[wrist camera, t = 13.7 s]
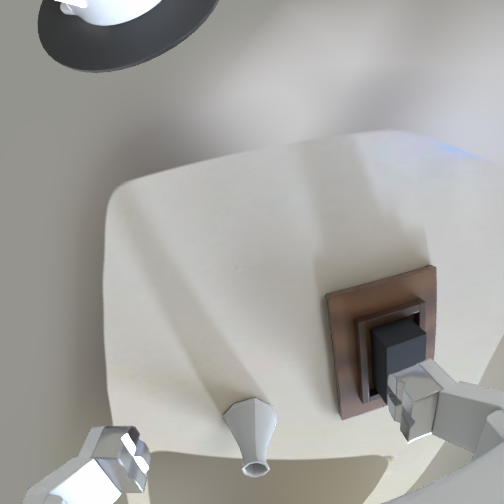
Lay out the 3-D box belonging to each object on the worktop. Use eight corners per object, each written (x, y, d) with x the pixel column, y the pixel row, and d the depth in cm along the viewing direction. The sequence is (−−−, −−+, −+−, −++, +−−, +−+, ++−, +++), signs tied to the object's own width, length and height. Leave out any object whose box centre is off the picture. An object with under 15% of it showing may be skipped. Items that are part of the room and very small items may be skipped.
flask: (245, 440, 42) (249, 491, 32) (213, 413, 40) (210, 466, 30) (286, 418, 41) (298, 469, 31) (255, 389, 40) (262, 442, 30)
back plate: (325, 294, 37) (332, 302, 34) (431, 264, 37) (442, 270, 35) (339, 415, 42) (344, 427, 39) (427, 384, 42) (435, 393, 39)
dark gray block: (370, 328, 37) (386, 347, 32) (407, 316, 37) (427, 333, 32) (372, 383, 39) (386, 405, 34) (406, 371, 39) (422, 390, 35)
